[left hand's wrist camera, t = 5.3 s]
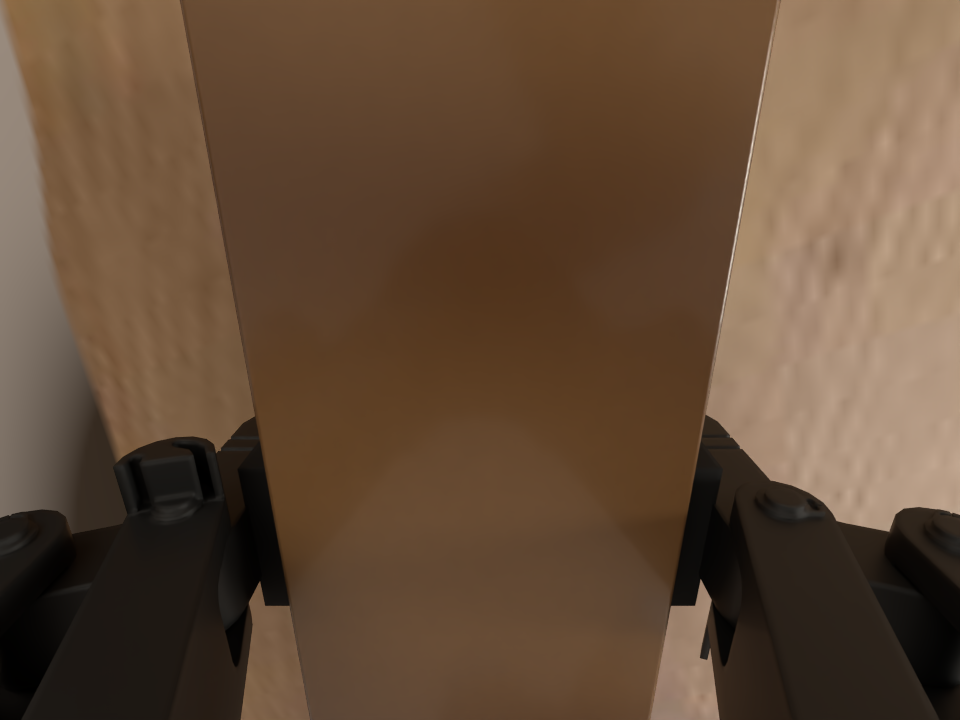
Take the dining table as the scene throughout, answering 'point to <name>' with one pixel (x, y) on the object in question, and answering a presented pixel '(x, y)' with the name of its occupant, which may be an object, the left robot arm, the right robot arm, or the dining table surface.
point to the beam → (480, 326)
